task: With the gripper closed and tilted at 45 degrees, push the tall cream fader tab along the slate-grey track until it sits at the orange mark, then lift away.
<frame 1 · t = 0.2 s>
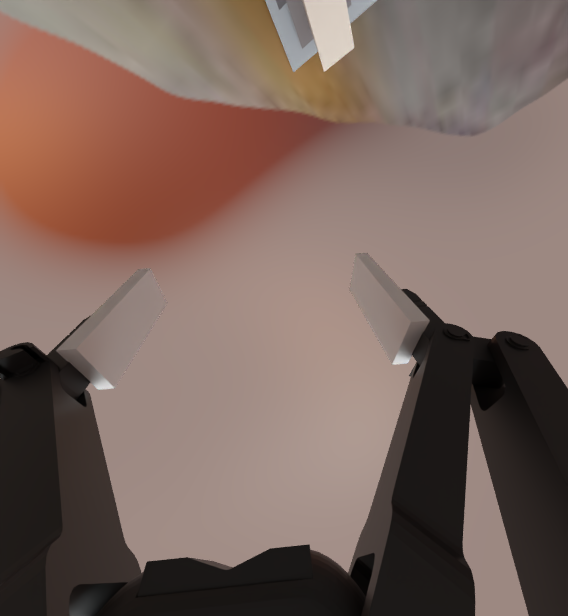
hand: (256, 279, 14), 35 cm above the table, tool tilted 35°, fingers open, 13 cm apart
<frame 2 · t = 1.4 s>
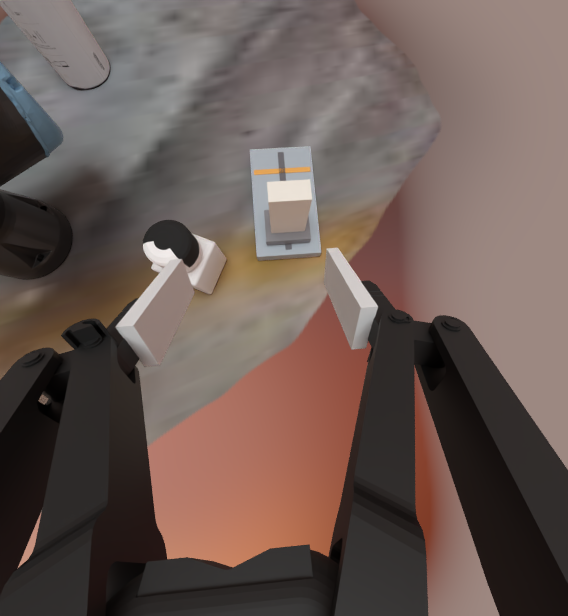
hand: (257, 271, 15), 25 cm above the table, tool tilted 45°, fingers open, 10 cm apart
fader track: (284, 205, 42), on the table
fader: (288, 212, 34), point 8 cm above the table, slide at -6.0 cm
speaker: (87, 71, 45), on the table
container: (201, 270, 41), on the table
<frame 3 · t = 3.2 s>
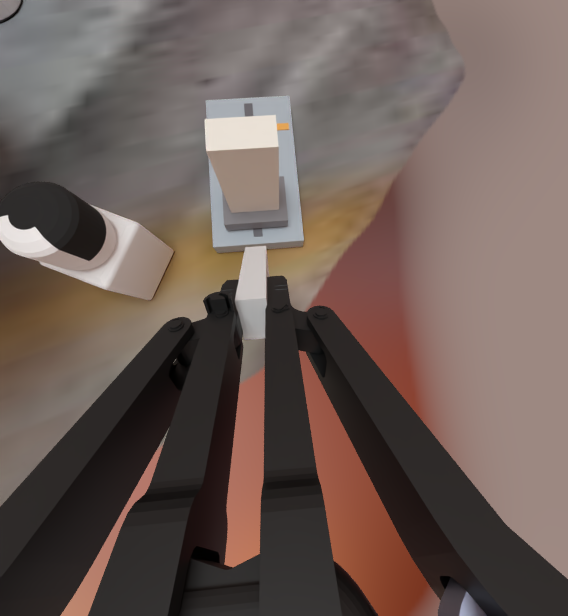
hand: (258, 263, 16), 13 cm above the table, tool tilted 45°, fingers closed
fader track: (254, 178, 31), on the table
fader: (250, 178, 23), point 8 cm above the table, slide at -6.0 cm
container: (139, 266, 29), on the table
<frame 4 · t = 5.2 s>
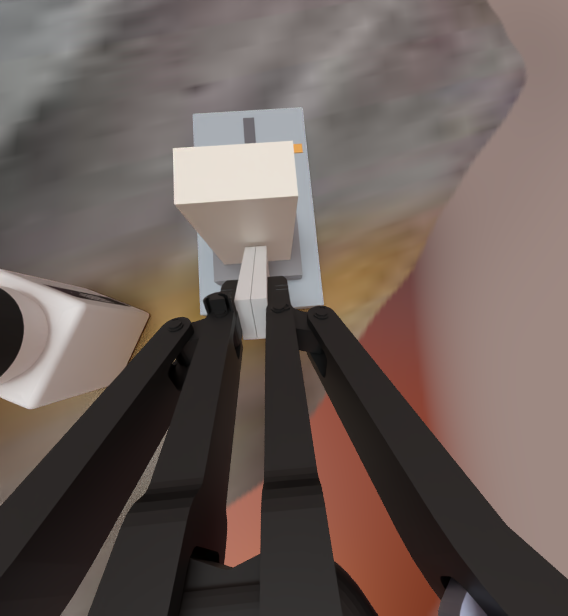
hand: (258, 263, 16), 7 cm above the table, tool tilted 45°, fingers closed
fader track: (257, 215, 24), on the table
fader: (250, 225, 16), point 8 cm above the table, slide at -5.3 cm, touching gripper
container: (104, 334, 22), on the table
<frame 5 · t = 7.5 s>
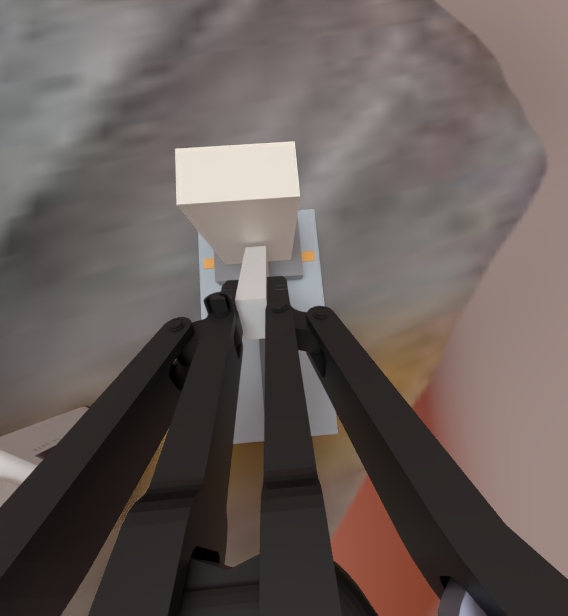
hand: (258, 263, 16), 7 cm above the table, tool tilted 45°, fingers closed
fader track: (265, 320, 22), on the table
fader: (251, 225, 16), point 8 cm above the table, slide at 6.6 cm
container: (102, 456, 21), on the table
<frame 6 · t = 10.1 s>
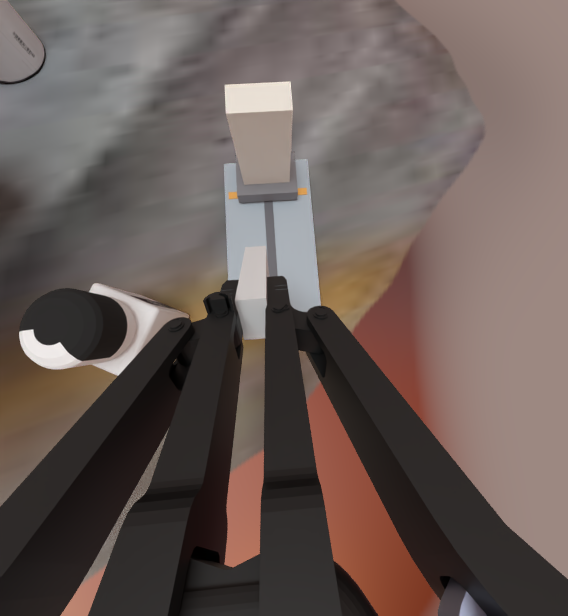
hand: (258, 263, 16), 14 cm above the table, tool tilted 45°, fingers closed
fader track: (271, 240, 31), on the table
fader: (263, 148, 24), point 8 cm above the table, slide at 7.7 cm
speaker: (16, 60, 35), on the table
container: (154, 330, 29), on the table
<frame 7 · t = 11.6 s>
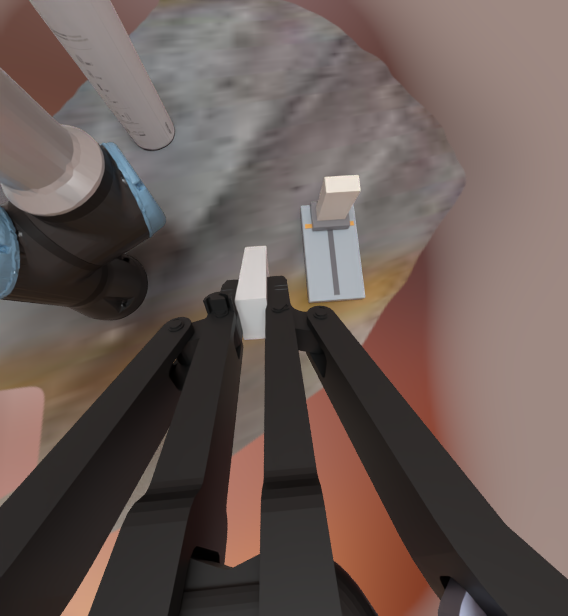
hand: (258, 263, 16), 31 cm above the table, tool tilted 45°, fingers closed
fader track: (330, 253, 48), on the table
fader: (334, 202, 42), point 8 cm above the table, slide at 7.7 cm
speaker: (154, 133, 52), on the table
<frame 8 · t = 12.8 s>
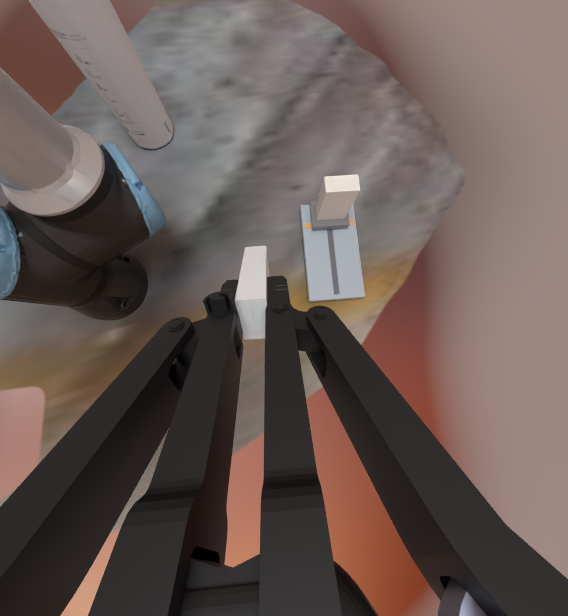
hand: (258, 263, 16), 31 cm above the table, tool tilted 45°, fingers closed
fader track: (329, 253, 48), on the table
fader: (334, 202, 42), point 8 cm above the table, slide at 7.7 cm
speaker: (154, 132, 52), on the table
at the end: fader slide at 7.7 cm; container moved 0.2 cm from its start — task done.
